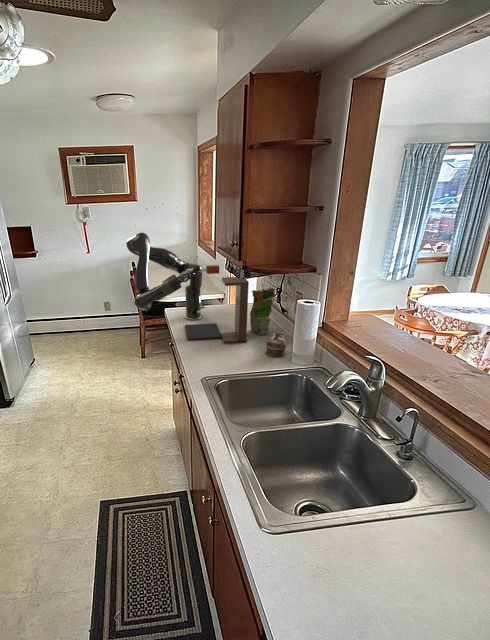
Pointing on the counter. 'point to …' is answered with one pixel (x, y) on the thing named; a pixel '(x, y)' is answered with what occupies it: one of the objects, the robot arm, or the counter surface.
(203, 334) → the mat
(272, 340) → the cupcake
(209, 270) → the orange elongated piece
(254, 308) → the pouch
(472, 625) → the counter surface
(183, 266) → the robot arm
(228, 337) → the shelf
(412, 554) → the counter surface
